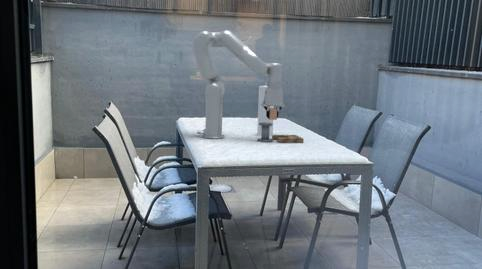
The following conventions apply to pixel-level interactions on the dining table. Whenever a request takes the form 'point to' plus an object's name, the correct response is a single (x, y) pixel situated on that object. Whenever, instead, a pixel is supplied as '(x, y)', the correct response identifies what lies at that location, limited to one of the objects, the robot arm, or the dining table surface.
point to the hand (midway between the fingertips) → (272, 117)
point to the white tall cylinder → (263, 112)
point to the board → (287, 138)
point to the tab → (273, 114)
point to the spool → (265, 132)
